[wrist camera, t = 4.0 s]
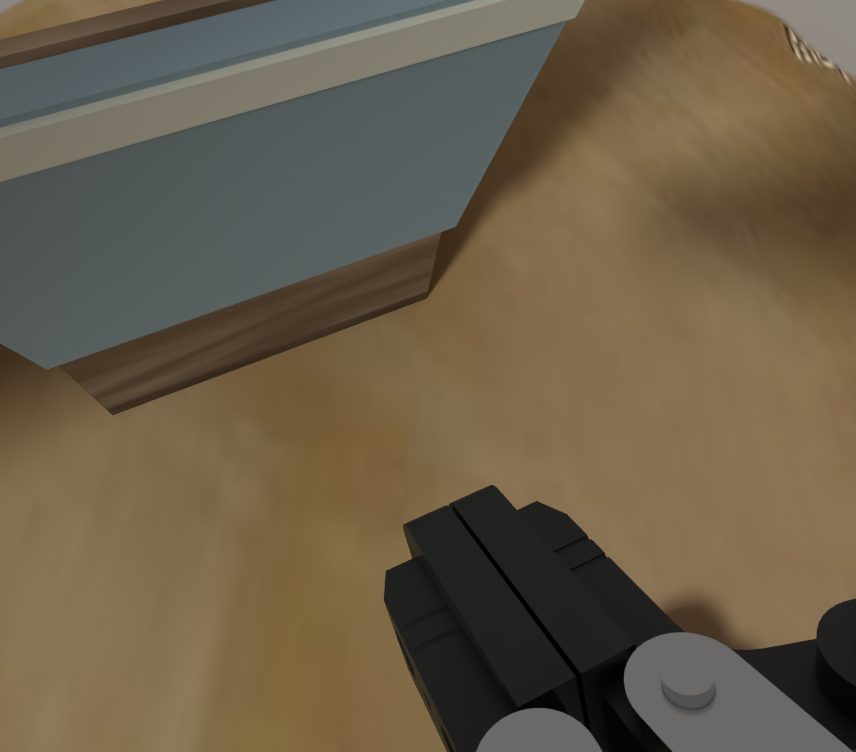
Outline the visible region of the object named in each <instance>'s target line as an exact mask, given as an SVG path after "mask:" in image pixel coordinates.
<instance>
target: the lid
mask: <svg viewBox="0 0 856 752" xmlns="http://www.w3.org/2000/svg"><path fill="white" fill-rule="evenodd" d="M584 1H585V0H275V1H271V2H267V3H263V4H259V5H255V6H251V7H247V8H243V9H239V10H235V11H231V12H227V13H223V14H219V15H215V16H211V17H207V18H203V19H199V20H195V21H191V22H187V23H183V24H179V25H175V26H171V27H167V28H163V29H159V30H155V31H151V32H147V33H143V34H139V35H135V36H131V37H127V38H123V39H119V40H115V41H111V42H107V43H103V44H99V45H95V46H91V47H87V48H83V49H79V50H75V51H71V52H67V53H63V54H59V55H55V56H51V57H47V58H44V59H40V60H36V61H32V62H28V63H24V64H20V65H16V66H12V67H8V68H4V69H0V344H2V345H4V346H6V347H7V348H9V349H11V350H13V351H14V352H16V353H18V354H20V355H22V356H23V357H25V358H27V359H29V360H30V361H32V362H34V363H36V364H38V365H39V366H41V367H43V368H45V369H46V370H48V369H51V368H54V367H56V366H59V365H62V364H65V363H68V362H71V361H74V360H76V359H79V358H82V357H85V356H88V355H91V354H94V353H96V352H99V351H102V350H105V349H108V348H111V347H114V346H116V345H119V344H122V343H125V342H128V341H131V340H134V339H137V338H139V337H142V336H145V335H148V334H151V333H154V332H157V331H159V330H162V329H165V328H168V327H171V326H174V325H177V324H179V323H182V322H185V321H188V320H191V319H194V318H197V317H199V316H202V315H205V314H208V313H211V312H214V311H217V310H219V309H222V308H225V307H228V306H231V305H234V304H237V303H240V302H242V301H245V300H248V299H251V298H254V297H257V296H260V295H262V294H265V293H268V292H271V291H274V290H277V289H280V288H282V287H285V286H288V285H291V284H294V283H297V282H300V281H302V280H305V279H308V278H311V277H314V276H317V275H320V274H322V273H325V272H328V271H331V270H334V269H337V268H340V267H342V266H345V265H348V264H351V263H354V262H357V261H360V260H363V259H365V258H368V257H371V256H374V255H377V254H380V253H383V252H385V251H388V250H391V249H394V248H397V247H400V246H403V245H405V244H408V243H411V242H414V241H417V240H420V239H423V238H425V237H428V236H431V235H434V234H437V233H440V232H443V231H445V230H448V229H451V228H454V227H456V225H457V224H458V222H459V220H460V218H461V216H462V214H463V212H464V211H465V209H466V207H467V205H468V203H469V201H470V200H471V198H472V196H473V194H474V192H475V190H476V188H477V187H478V185H479V183H480V181H481V179H482V177H483V175H484V174H485V172H486V170H487V168H488V166H489V164H490V162H491V161H492V159H493V157H494V155H495V153H496V151H497V149H498V148H499V146H500V144H501V142H502V140H503V138H504V136H505V135H506V133H507V131H508V129H509V127H510V125H511V124H512V122H513V120H514V118H515V116H516V114H517V112H518V111H519V109H520V107H521V105H522V103H523V101H524V99H525V98H526V96H527V94H528V92H529V90H530V88H531V86H532V85H533V83H534V81H535V79H536V77H537V75H538V73H539V72H540V70H541V68H542V66H543V64H544V62H545V61H546V59H547V57H548V55H549V53H550V51H551V49H552V48H553V46H554V44H555V42H556V40H557V38H558V36H559V35H560V33H561V31H562V29H563V27H564V25H565V23H566V22H567V20H569V19H573V18H576V16H577V14H578V12H579V10H580V9H581V7H582V5H583V3H584Z"/></svg>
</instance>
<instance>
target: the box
mask: <svg viewBox="0 0 856 752" xmlns="http://www.w3.org/2000/svg"><path fill="white" fill-rule="evenodd" d="M271 1H275V0H163V1H159V2H154V3H150V4H146V5H142V6H138V7H134V8H129V9H125V10H121V11H117V12H113V13H109V14H105V15H100V16H96V17H92V18H88V19H84V20H80V21H76V22H71V23H67V24H63V25H59V26H55V27H51V28H46V29H42V30H38V31H34V32H30V33H26V34H22V35H17V36H13V37H9V38H5V39H1V40H0V69H4V68H8V67H12V66H16V65H20V64H24V63H28V62H32V61H36V60H40V59H44V58H47V57H51V56H55V55H59V54H63V53H67V52H71V51H75V50H79V49H83V48H87V47H91V46H95V45H99V44H103V43H107V42H111V41H115V40H119V39H123V38H127V37H131V36H135V35H139V34H143V33H147V32H151V31H155V30H159V29H163V28H167V27H171V26H175V25H179V24H183V23H187V22H191V21H195V20H199V19H203V18H207V17H211V16H215V15H219V14H223V13H227V12H231V11H235V10H239V9H243V8H247V7H251V6H255V5H259V4H263V3H267V2H271ZM440 236H441V232H440V233H437V234H434V235H431V236H428V237H425V238H423V239H420V240H417V241H414V242H411V243H408V244H405V245H403V246H400V247H397V248H394V249H391V250H388V251H385V252H383V253H380V254H377V255H374V256H371V257H368V258H365V259H363V260H360V261H357V262H354V263H351V264H348V265H345V266H342V267H340V268H337V269H334V270H331V271H328V272H325V273H322V274H320V275H317V276H314V277H311V278H308V279H305V280H302V281H300V282H297V283H294V284H291V285H288V286H285V287H282V288H280V289H277V290H274V291H271V292H268V293H265V294H262V295H260V296H257V297H254V298H251V299H248V300H245V301H242V302H240V303H237V304H234V305H231V306H228V307H225V308H222V309H219V310H217V311H214V312H211V313H208V314H205V315H202V316H199V317H197V318H194V319H191V320H188V321H185V322H182V323H179V324H177V325H174V326H171V327H168V328H165V329H162V330H159V331H157V332H154V333H151V334H148V335H145V336H142V337H139V338H137V339H134V340H131V341H128V342H125V343H122V344H119V345H116V346H114V347H111V348H108V349H105V350H102V351H99V352H96V353H94V354H91V355H88V356H85V357H82V358H79V359H76V360H74V361H71V362H68V363H65V364H62V365H59V366H60V367H61V368H62V369H63V370H64V371H65V372H66V373H68V374H69V375H70V376H71V377H72V378H73V379H74V380H75V381H76V382H77V383H78V384H79V385H80V386H82V387H83V388H84V389H85V390H86V391H87V392H88V393H89V394H90V395H91V396H92V397H93V398H95V399H96V400H97V401H98V402H99V403H100V404H101V405H102V406H103V407H104V408H105V409H106V410H107V411H109V412H110V413H111V414H112V415H114V414H117V413H120V412H122V411H125V410H128V409H130V408H133V407H136V406H138V405H141V404H144V403H146V402H149V401H152V400H154V399H157V398H160V397H163V396H165V395H168V394H171V393H173V392H176V391H179V390H181V389H184V388H187V387H189V386H192V385H195V384H198V383H200V382H203V381H206V380H208V379H211V378H214V377H216V376H219V375H222V374H224V373H227V372H230V371H233V370H235V369H238V368H241V367H243V366H246V365H249V364H251V363H254V362H257V361H259V360H262V359H265V358H267V357H270V356H273V355H276V354H278V353H281V352H284V351H286V350H289V349H292V348H294V347H297V346H300V345H302V344H305V343H308V342H311V341H313V340H316V339H319V338H321V337H324V336H327V335H329V334H332V333H335V332H337V331H340V330H343V329H346V328H348V327H351V326H354V325H356V324H359V323H362V322H364V321H367V320H370V319H372V318H375V317H378V316H380V315H383V314H386V313H389V312H391V311H394V310H397V309H399V308H402V307H405V306H407V305H410V304H413V303H415V302H418V301H421V300H424V299H426V298H427V294H428V289H429V285H430V280H431V276H432V272H433V267H434V263H435V258H436V254H437V249H438V245H439V240H440Z"/></svg>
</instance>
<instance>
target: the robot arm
mask: <svg viewBox="0 0 856 752" xmlns="http://www.w3.org/2000/svg"><path fill="white" fill-rule="evenodd" d="M403 529H404V533H405V537H406V540H407V543H408V546H409V549H410V553H411V556H412V559H411V560H409V561H407V562H404V563H402V564H400V565H398V566H396V567H394V568H391V569H389V570H387V571H386V577H385V592H384V602H385V605H386V608H387V610H388V613H389V616H390V619H391V622H392V624H393V627H394V630H395V633H396V636H397V639H398V641H399V644H400V647H401V650H402V653H403V656H404V658H405V661H406V664H407V667H408V670H409V672H410V674H411V676H412V678H413V680H414V682H415V685H416V687H417V689H418V691H419V693H420V695H421V697H422V699H423V701H424V704H425V706H426V708H427V710H428V712H429V714H430V716H431V718H432V721H433V722H434V724H435V727H436V729H437V731H438V733H439V735H440V738H441V740H442V742H443V744H444V746H445V748H446V750H447V752H856V599H853V600H848V601H844V602H842V603H840V604H837V605H835V606H834V607H832V608H831V609H829V610H828V611H827V612H826V613H825V614H824V615H823V616H822V618H821V620H820V622H819V624H818V628H817V639H813V640H807V641H802V642H796V643H791V644H785V645H780V646H774V647H769V648H763V649H755V650H734V649H730V648H728V647H727V646H726V645H724V644H722V643H720V642H718V641H717V640H714V639H712V638H709V637H707V636H703V635H699V634H695V633H686V632H685V631H683V630H682V629H681V628H680V627H678V626H677V625H676V624H675V623H674V622H673V621H672V620H671V619H670V618H669V617H668V616H667V615H666V614H665V613H664V612H663V611H662V610H661V609H660V608H659V607H658V606H657V605H656V604H655V603H654V602H653V601H652V600H651V599H650V598H649V597H648V596H647V595H646V594H645V593H644V592H643V591H642V590H641V589H640V588H639V587H638V586H637V585H636V584H635V583H634V582H633V581H632V580H631V579H630V578H629V577H628V576H627V575H626V574H625V573H624V572H623V571H622V570H621V569H620V568H619V567H618V566H617V565H616V564H615V563H614V562H613V561H612V560H611V559H610V557H608V558H607V557H606V555H605V552H604V551H603V550H602V549H601V548H600V547H599V546H598V545H597V544H596V543H595V542H594V541H593V540H592V539H591V540H589V538H588V536H587V534H586V533H585V532H584V531H583V530H582V529H581V528H580V527H579V526H578V525H577V524H576V523H575V522H574V521H573V520H572V519H571V518H570V517H569V516H568V515H567V514H565V513H563V512H561V511H558V510H556V509H554V508H551V507H549V506H547V505H544V504H542V503H540V502H537V501H536V502H534V503H532V504H529V505H527V506H525V507H523V508H521V509H519V510H516V509H515V508H514V506H513V505H512V504H511V503H510V502H509V501H508V500H507V499H506V497H505V496H504V495H503V494H502V493H501V492H500V491H499V490H498V489H497V488H496V487H495V486H493V485H490V486H488V487H485V488H483V489H481V490H479V491H476V492H474V493H472V494H470V495H468V496H465V497H463V498H461V499H459V500H456V501H454V502H452V503H450V504H449V506H447V505H446V506H444V507H441V508H439V509H437V510H435V511H432V512H430V513H428V514H426V515H423V516H421V517H419V518H417V519H414V520H412V521H410V522H408V523H406V524H404V525H403Z"/></svg>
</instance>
